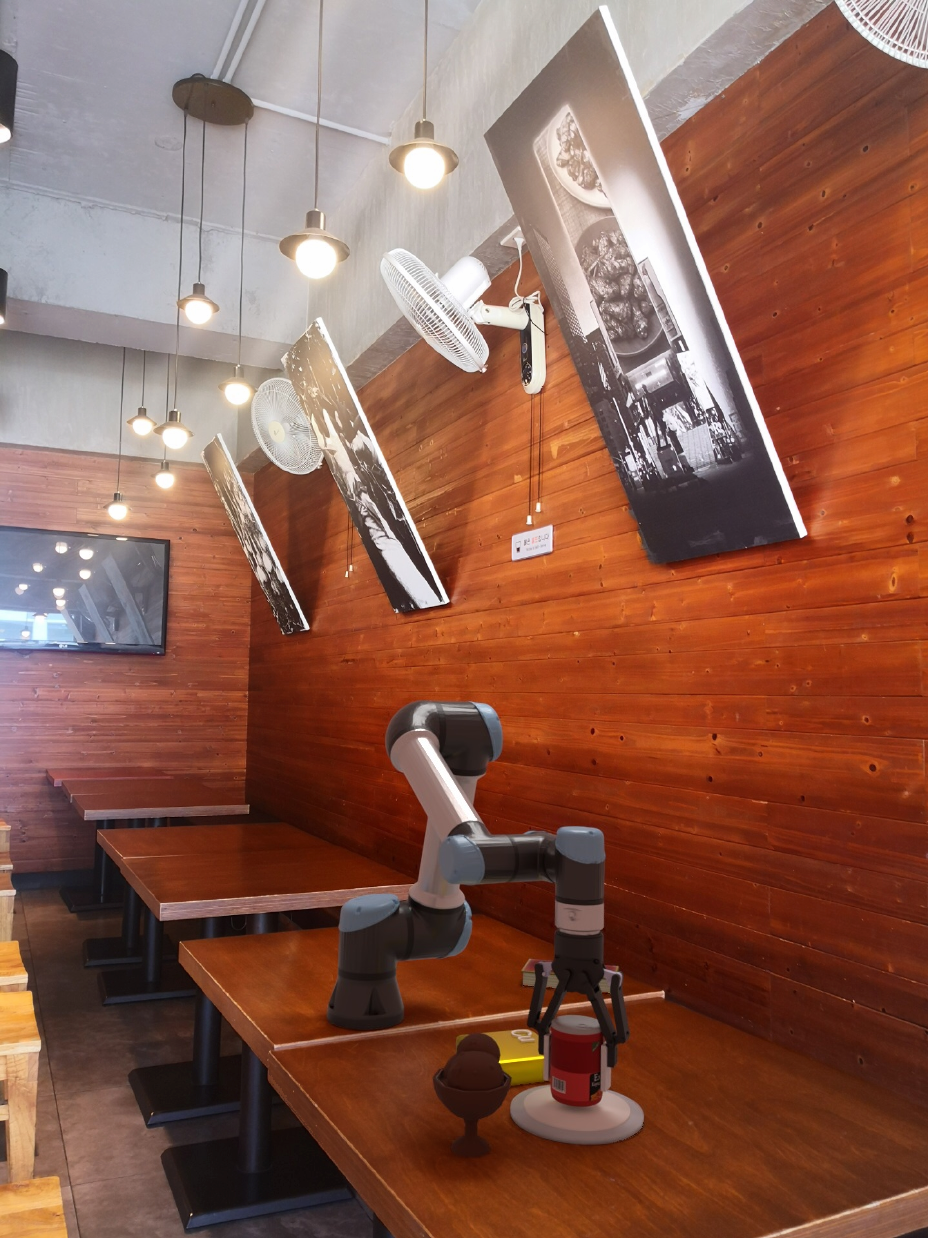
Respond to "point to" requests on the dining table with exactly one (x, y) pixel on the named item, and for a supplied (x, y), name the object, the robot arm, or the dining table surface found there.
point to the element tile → (518, 1055)
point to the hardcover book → (552, 979)
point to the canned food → (576, 1060)
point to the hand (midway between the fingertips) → (576, 1083)
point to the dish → (576, 1117)
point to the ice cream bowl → (472, 1089)
